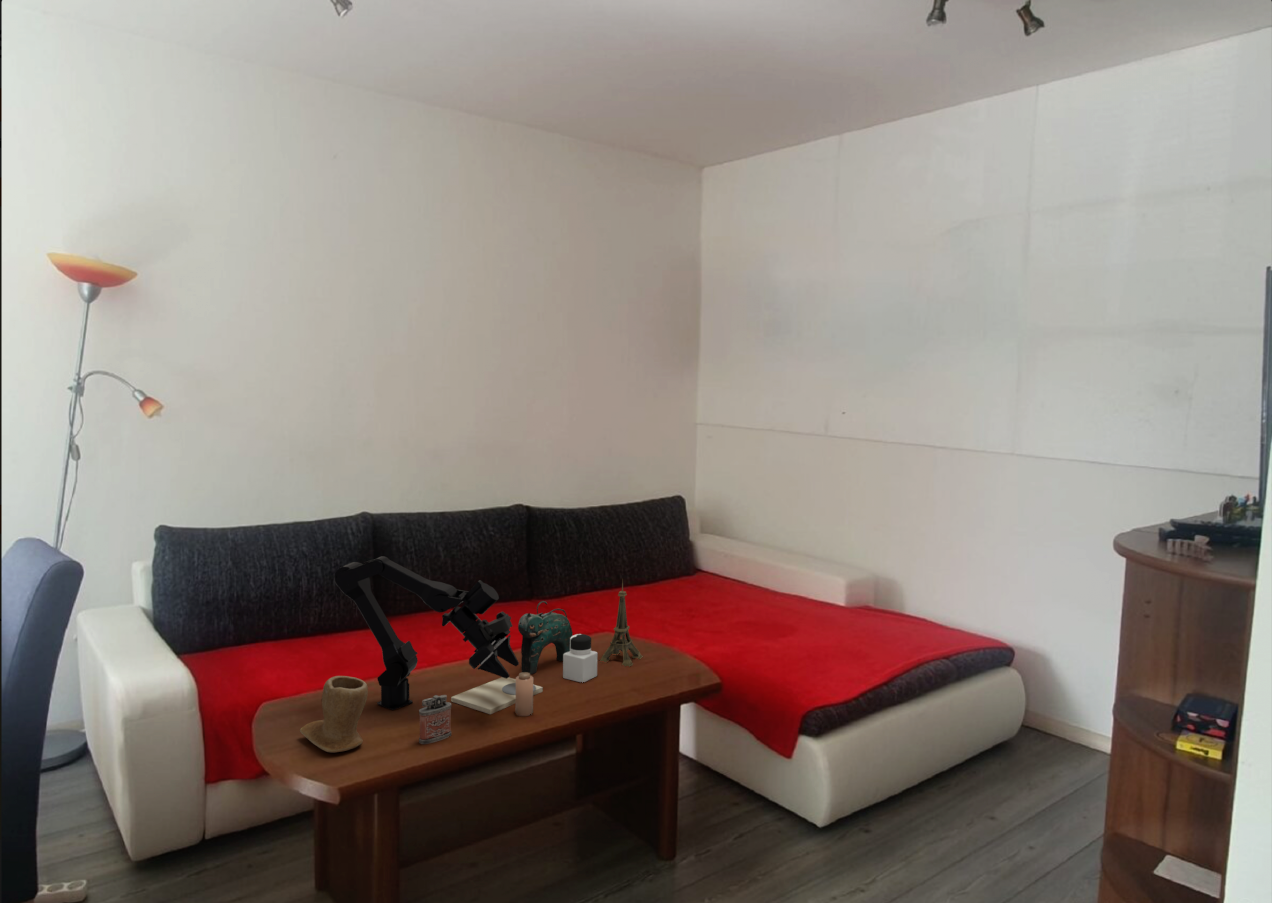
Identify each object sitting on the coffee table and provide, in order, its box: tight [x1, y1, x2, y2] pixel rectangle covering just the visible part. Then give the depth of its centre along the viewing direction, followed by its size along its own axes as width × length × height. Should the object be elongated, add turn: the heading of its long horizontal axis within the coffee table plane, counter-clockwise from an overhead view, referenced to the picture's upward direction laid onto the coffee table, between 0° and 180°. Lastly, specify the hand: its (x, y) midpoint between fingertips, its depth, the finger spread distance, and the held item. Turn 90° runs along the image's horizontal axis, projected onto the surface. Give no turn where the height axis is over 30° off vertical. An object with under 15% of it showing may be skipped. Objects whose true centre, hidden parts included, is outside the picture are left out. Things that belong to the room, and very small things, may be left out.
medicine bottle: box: [562, 633, 598, 684], centre depth 240 cm, size 7×7×12 cm
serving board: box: [450, 676, 544, 715], centre depth 224 cm, size 20×14×1 cm
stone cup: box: [299, 675, 369, 753], centre depth 193 cm, size 15×12×15 cm
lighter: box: [418, 694, 452, 745], centre depth 197 cm, size 8×3×10 cm, turn 135°
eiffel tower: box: [599, 579, 644, 668], centre depth 256 cm, size 11×11×25 cm
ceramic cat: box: [517, 600, 574, 675], centre depth 248 cm, size 20×6×20 cm, turn 141°
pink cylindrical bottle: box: [514, 671, 534, 717], centre depth 213 cm, size 4×4×10 cm
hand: (513, 671), depth 213 cm, fingers open, 9 cm apart
